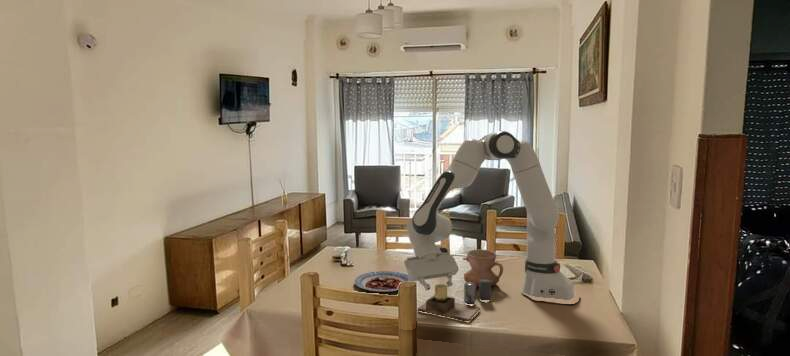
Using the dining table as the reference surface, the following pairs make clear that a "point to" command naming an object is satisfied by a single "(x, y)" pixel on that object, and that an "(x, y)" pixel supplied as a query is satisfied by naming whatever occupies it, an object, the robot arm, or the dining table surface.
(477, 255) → the ceramic jug
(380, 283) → the ceramic plate
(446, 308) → the socket board
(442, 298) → the translucent yellow cylinder
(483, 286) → the grey rounded cylinder
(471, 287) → the dark steel roller
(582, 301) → the dining table surface
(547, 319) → the dining table surface
